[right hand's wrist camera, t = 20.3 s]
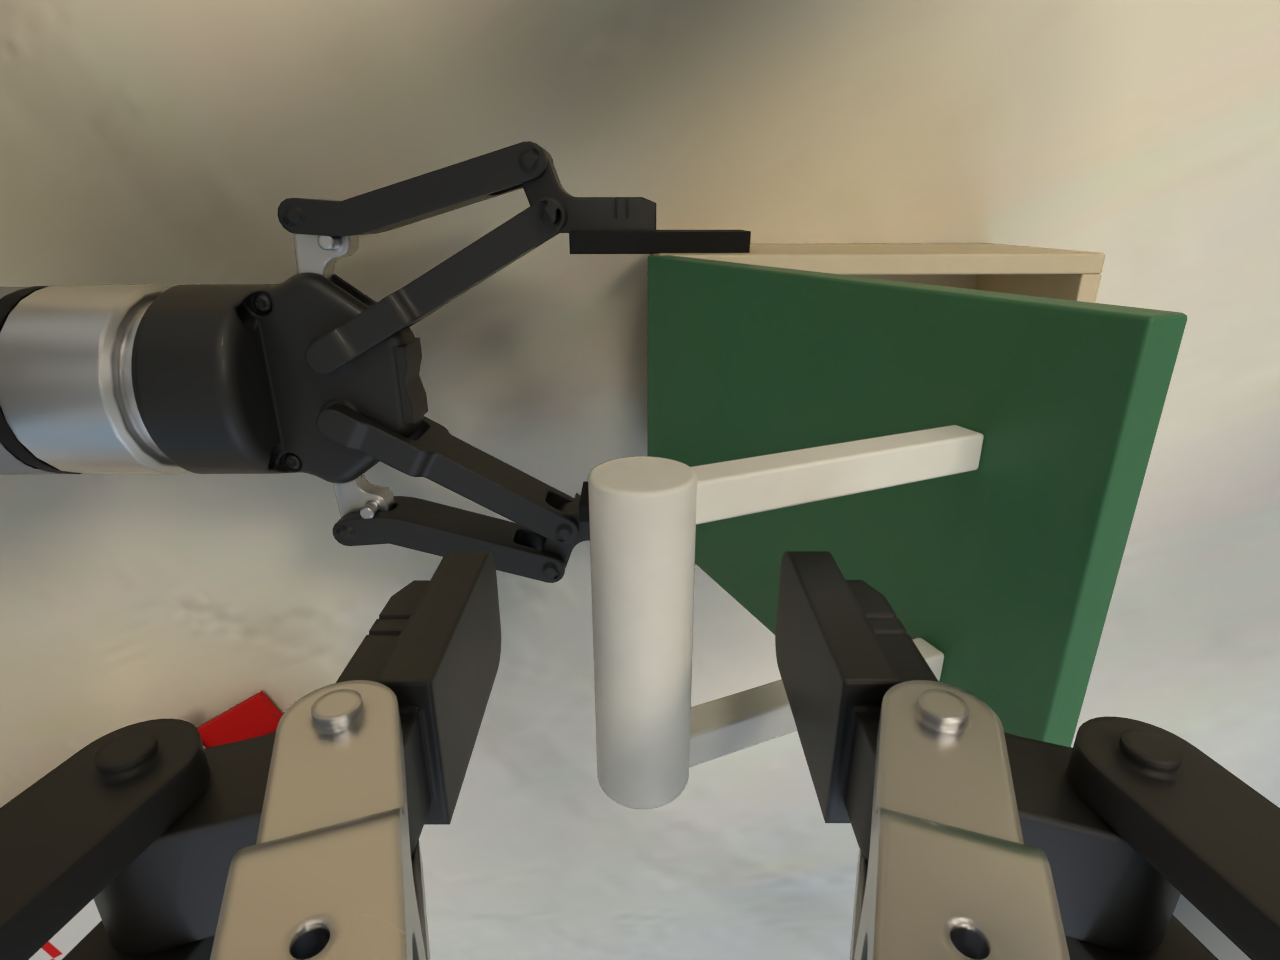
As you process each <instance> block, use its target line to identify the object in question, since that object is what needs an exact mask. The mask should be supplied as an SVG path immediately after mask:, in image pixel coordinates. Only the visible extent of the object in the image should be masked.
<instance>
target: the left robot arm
mask: <svg viewBox="0 0 1280 960" xmlns="http://www.w3.org/2000/svg"><path fill="white" fill-rule="evenodd" d="M521 188H524V191H525V193H526V196H527V198H528V201H529V203H530V207H529V208H527V209H526V210H524V211H522V212H521V213H519V214H518V215H516V216H515V217H513V218H511V219H510V220H508V221H507V222H505V223H504V224H502V225H500V226H499V227H497V228H496V229H494V230H493V231H491V232H489V233H488V234H486V235H485V236H483V237H482V238H480V239H478V240H477V241H475V242H474V243H472V244H471V245H469V246H467V247H466V248H464V249H463V250H461V251H460V252H458V253H456V254H455V255H453V256H452V257H450V258H449V259H447V260H445V261H444V262H442V263H441V264H439V265H438V266H436V267H434V268H433V269H431V270H430V271H428V272H427V273H425V274H424V275H422V276H420V277H419V278H417V279H416V280H414V281H413V282H411V283H409V284H408V285H406V286H405V287H403V288H401V289H400V290H398V291H396V292H394V293H392V294H390V295H389V296H387V297H385V298H384V299H382V300H381V301H379V302H375V301H374V300H372V299H371V298H370V297H368V296H367V295H365V294H364V293H362V292H361V291H359V290H358V289H356V288H355V287H353V286H352V285H350V284H349V283H347V282H346V281H344V280H343V279H341V278H340V277H338V276H337V275H335V274H333V269H334V265H335V263H336V262H337V260H339V259H340V258H342V257H346V256H351V255H352V254H354V253H355V252H356V250H357V248H358V245H359V237H358V235H366V234H375V233H380V232H385V231H389V230H392V229H395V228H398V227H401V226H404V225H408V224H411V223H414V222H417V221H420V220H423V219H426V218H430V217H433V216H436V215H439V214H442V213H445V212H448V211H452V210H455V209H458V208H461V207H464V206H467V205H470V204H474V203H477V202H480V201H483V200H486V199H489V198H492V197H495V196H499V195H502V194H505V193H508V192H511V191H514V190H517V189H521ZM278 218H279V221H280V223H281V224H282V226H283V227H284V228H285V229H286V230H288V231H289V232H291V233H293V234H294V243H295V253H296V263H297V272H298V274H296V275H294V276H292V277H291V278H289V279H288V280H286V281H285V282H283V283H281V284H260V285H178V286H174V287H171V288H166V287H163V286H160V285H51V286H35V287H0V475H2V474H82V473H87V474H180V473H183V472H185V471H190V472H193V473H200V474H274V473H293V472H304V473H308V474H312V475H315V476H317V477H320V478H322V479H324V480H326V481H328V482H331V483H333V485H334V490H335V494H336V498H337V502H338V506H339V510H340V514H341V519H340V520H339V521H338V522H337V523H336V524H335V525H334V527H333V535H334V537H335V539H336V540H337V541H338V542H339V543H341V544H343V545H346V546H357V545H372V544H387V543H390V544H394V545H398V546H402V547H406V548H410V549H414V550H418V551H422V552H426V553H430V554H434V555H438V556H443V557H444V555H445V554H446V553H447V552H492V554H493V556H494V560H495V567H496V570H499V571H503V572H507V573H511V574H515V575H520V576H524V577H528V578H532V579H536V580H540V581H544V582H549V583H554V582H557V581H559V580H560V579H561V578H562V577H563V575H564V572H565V568H566V565H567V562H568V560H569V557H570V554H571V551H572V549H573V548H574V547H575V545H577V544H578V543H580V542H582V541H587V540H590V520H589V488H588V482H583V487H582V492H581V496H580V495H579V494H578V493H576V496H575V498H572V497H571V496H569V495H567V494H565V493H563V492H561V491H559V490H557V489H555V488H553V487H551V486H549V485H547V484H545V483H543V482H541V481H539V480H537V479H536V478H534V477H532V476H530V475H528V474H526V473H524V472H522V471H520V470H518V469H516V468H514V467H512V466H510V465H508V464H506V463H504V462H503V461H501V460H499V459H497V458H495V457H493V456H491V455H489V454H487V453H485V452H483V451H481V450H479V449H477V448H475V447H473V446H471V445H470V444H468V443H466V442H464V441H462V440H460V439H458V438H456V437H454V436H452V435H451V434H450V433H449V432H448V430H447V429H446V428H445V427H443V426H442V425H440V424H438V423H436V422H434V421H432V420H430V419H428V418H427V417H425V416H424V414H425V413H426V412H427V411H428V407H427V398H426V392H425V390H424V387H423V384H422V382H421V379H420V377H419V371H420V364H421V358H422V354H421V345H420V338H415V336H414V334H413V332H412V330H411V329H410V328H409V327H410V326H412V325H414V324H415V323H417V322H418V321H420V320H422V319H423V318H425V317H426V316H428V315H430V314H431V313H433V312H434V311H436V310H437V309H439V308H440V307H442V306H443V305H445V304H447V303H448V302H450V301H451V300H453V299H455V298H456V297H458V296H459V295H461V294H463V293H464V292H466V291H467V290H469V289H471V288H472V287H474V286H475V285H477V284H479V283H480V282H482V281H483V280H485V279H487V278H488V277H490V276H491V275H493V274H495V273H496V272H498V271H499V270H501V269H503V268H504V267H506V266H507V265H509V264H511V263H512V262H514V261H515V260H517V259H519V258H520V257H522V256H523V255H525V254H527V253H528V252H530V251H531V250H533V249H535V248H536V247H538V246H540V245H541V244H543V243H544V242H546V241H548V240H549V239H551V238H552V237H554V236H556V235H557V234H559V233H569V241H570V254H659V253H750V235H751V231H744V230H656V203H654V202H652V201H650V200H647V199H645V198H643V197H573V196H571V195H569V194H568V193H567V192H566V191H565V190H564V189H563V187H562V185H561V183H560V180H559V178H558V175H557V172H556V170H555V167H554V164H553V159H552V157H551V155H550V154H549V153H548V152H547V151H546V150H545V149H543V148H542V147H540V146H539V145H538V144H536V143H533V142H530V141H529V142H522V143H519V144H516V145H513V146H510V147H507V148H503V149H500V150H497V151H494V152H491V153H488V154H485V155H482V156H479V157H476V158H473V159H470V160H467V161H463V162H460V163H457V164H454V165H451V166H448V167H445V168H442V169H439V170H436V171H433V172H430V173H427V174H423V175H420V176H417V177H414V178H411V179H408V180H405V181H402V182H399V183H396V184H393V185H390V186H387V187H383V188H380V189H377V190H374V191H371V192H368V193H365V194H362V195H359V196H356V197H353V198H350V199H347V200H343V201H338V200H325V199H303V198H290V199H286V200H284V201H283V202H281V204H280V206H279V208H278ZM379 461H381V462H383V463H385V464H387V465H389V466H391V467H393V468H395V469H397V470H399V471H401V472H403V473H405V474H407V475H410V476H413V477H425V478H427V479H429V480H431V481H433V482H435V483H437V484H439V485H441V486H443V487H445V488H447V489H449V490H451V491H453V492H455V493H457V494H459V495H461V496H463V497H465V498H467V499H469V500H471V501H473V502H475V503H477V504H479V505H481V506H483V507H485V508H487V509H489V510H491V511H493V512H495V513H497V514H499V515H501V516H503V517H505V518H508V519H510V520H512V521H514V522H516V523H513V522H509V521H505V520H501V519H497V518H493V517H489V516H486V515H482V514H478V513H474V512H470V511H466V510H462V509H458V508H454V507H450V506H446V505H442V504H438V503H434V502H430V501H427V500H423V499H418V498H413V497H404V496H393V495H392V491H391V489H389V488H388V487H381V486H375V485H373V484H371V483H370V482H368V481H367V479H366V478H365V476H364V473H365V472H366V471H367V470H369V469H370V468H371V467H373V466H374V465H375V464H377V463H378V462H379ZM517 523H518V524H517Z"/></svg>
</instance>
